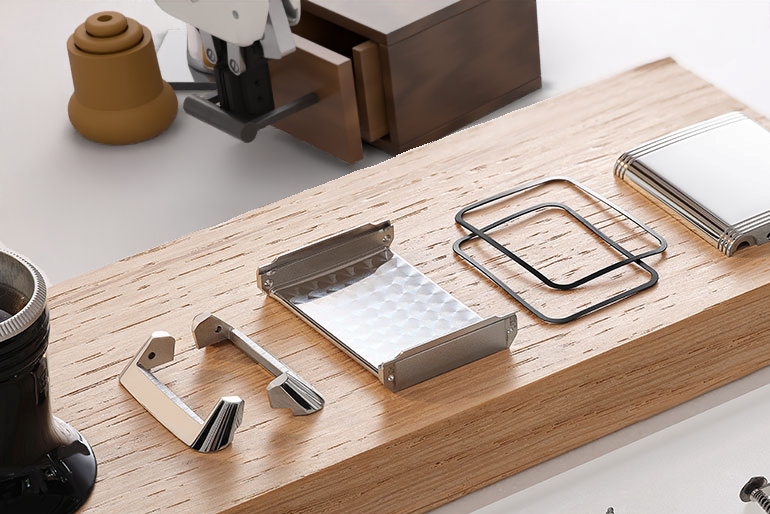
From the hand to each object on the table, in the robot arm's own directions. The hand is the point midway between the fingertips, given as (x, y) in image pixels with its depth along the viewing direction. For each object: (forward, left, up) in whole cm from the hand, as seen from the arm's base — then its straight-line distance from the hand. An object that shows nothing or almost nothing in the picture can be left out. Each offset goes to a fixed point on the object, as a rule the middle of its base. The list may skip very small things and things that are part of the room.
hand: (249, 116), depth 140 cm
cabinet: (+14, 0, -4) cm, 15 cm away
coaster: (+9, +14, -4) cm, 17 cm away
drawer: (+7, 0, -3) cm, 7 cm away
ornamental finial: (-2, +12, -4) cm, 13 cm away
